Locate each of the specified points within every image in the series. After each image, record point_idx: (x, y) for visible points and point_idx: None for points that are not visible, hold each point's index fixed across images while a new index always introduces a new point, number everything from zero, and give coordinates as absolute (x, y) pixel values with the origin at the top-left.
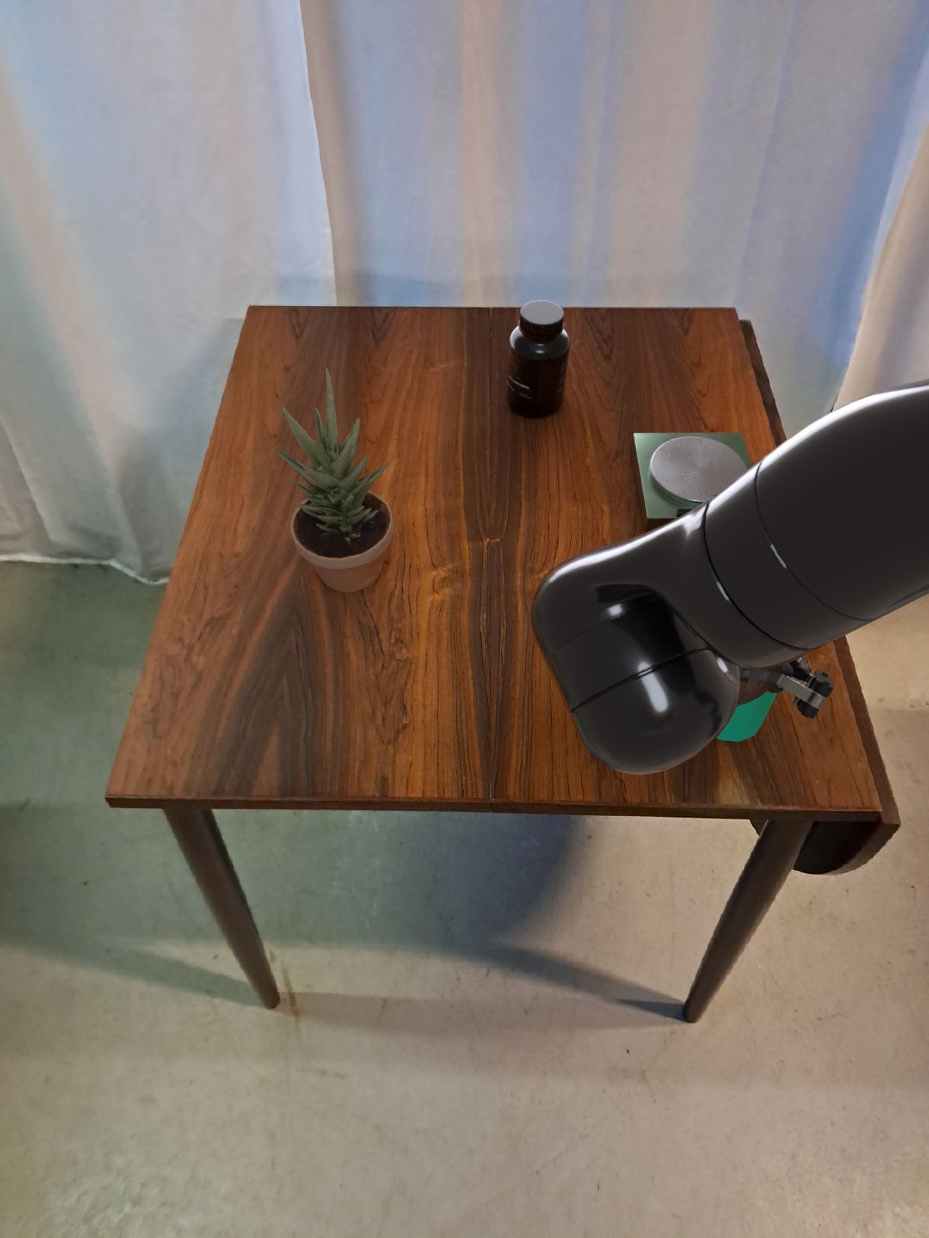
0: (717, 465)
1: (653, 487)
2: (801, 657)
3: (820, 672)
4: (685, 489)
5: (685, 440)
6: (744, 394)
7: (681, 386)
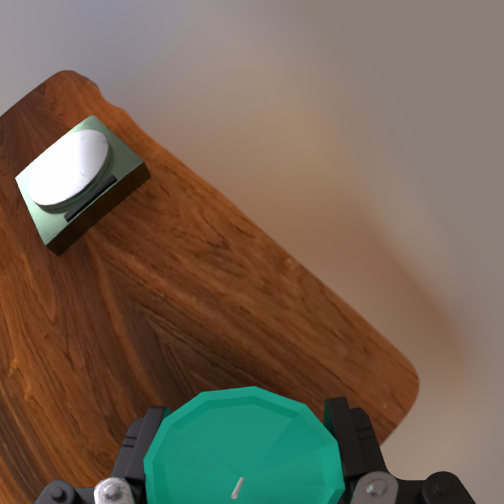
0: (79, 150)
1: (40, 210)
2: (339, 416)
3: (431, 487)
4: (61, 191)
5: (49, 151)
6: (89, 94)
7: (47, 120)
